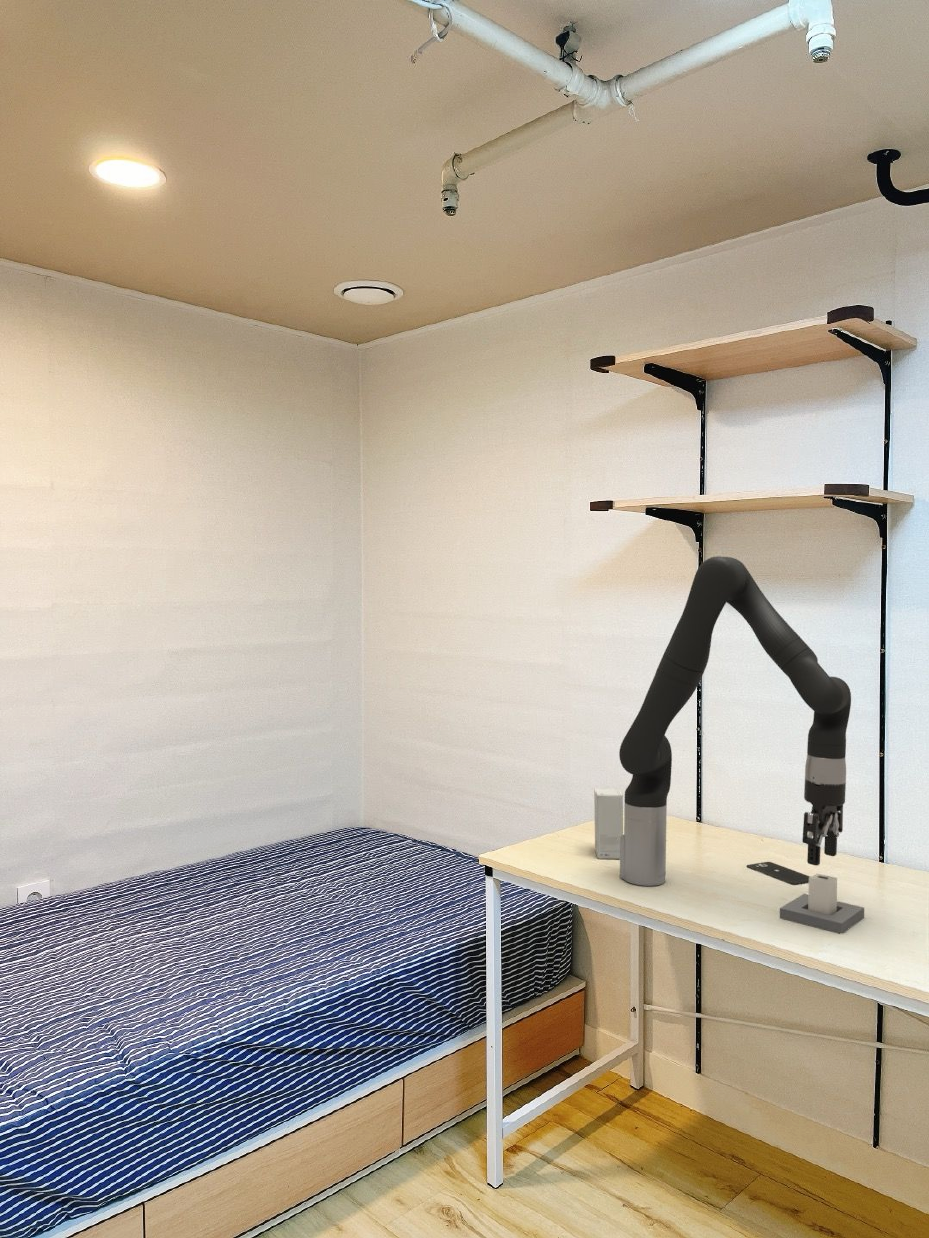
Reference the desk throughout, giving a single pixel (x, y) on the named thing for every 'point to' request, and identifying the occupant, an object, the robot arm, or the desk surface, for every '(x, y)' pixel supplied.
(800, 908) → the socket plate
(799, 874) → the smartphone
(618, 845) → the skincare box
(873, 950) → the desk surface
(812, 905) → the charger
